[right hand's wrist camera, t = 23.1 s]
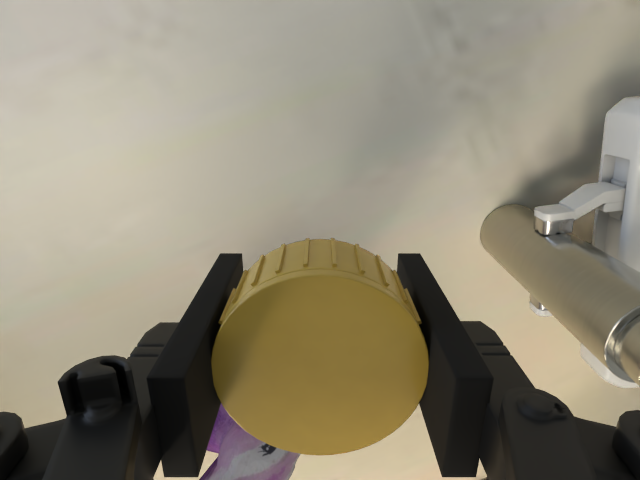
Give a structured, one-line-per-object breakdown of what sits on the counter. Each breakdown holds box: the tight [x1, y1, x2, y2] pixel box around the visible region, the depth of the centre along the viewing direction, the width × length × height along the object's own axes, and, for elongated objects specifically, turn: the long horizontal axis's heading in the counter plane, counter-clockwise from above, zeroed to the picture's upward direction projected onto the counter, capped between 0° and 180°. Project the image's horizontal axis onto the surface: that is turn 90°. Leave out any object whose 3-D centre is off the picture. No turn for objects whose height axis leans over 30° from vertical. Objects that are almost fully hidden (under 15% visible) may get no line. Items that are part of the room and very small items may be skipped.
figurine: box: [199, 403, 300, 480], centre depth 31 cm, size 9×10×15 cm
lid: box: [211, 238, 429, 455], centre depth 11 cm, size 6×6×2 cm
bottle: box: [480, 204, 640, 386], centre depth 25 cm, size 5×5×18 cm
